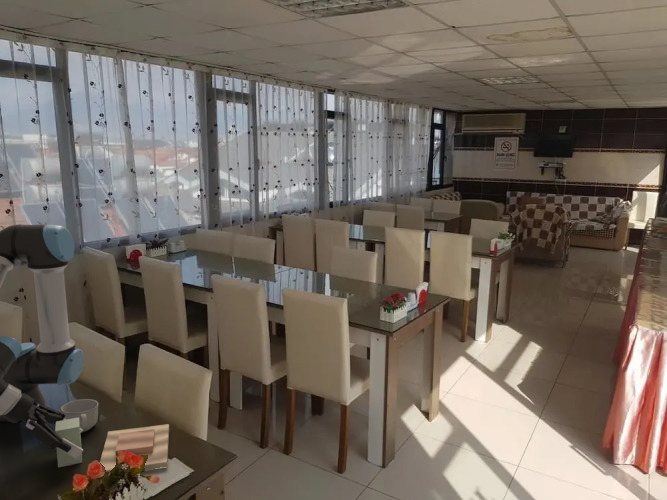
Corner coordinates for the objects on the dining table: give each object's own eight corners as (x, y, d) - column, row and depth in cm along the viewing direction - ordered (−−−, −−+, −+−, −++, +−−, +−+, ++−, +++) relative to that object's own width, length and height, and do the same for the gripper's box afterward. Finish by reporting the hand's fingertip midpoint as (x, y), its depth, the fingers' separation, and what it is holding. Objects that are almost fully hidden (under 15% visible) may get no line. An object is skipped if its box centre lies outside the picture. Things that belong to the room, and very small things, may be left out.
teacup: (64, 423, 169) (62, 400, 167) (100, 417, 173) (98, 395, 172) (60, 444, 156) (58, 420, 155) (99, 437, 160) (97, 413, 159)
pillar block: (58, 456, 150) (55, 421, 148) (81, 451, 152) (79, 417, 151) (58, 467, 144) (55, 431, 143) (81, 462, 147) (79, 426, 145)
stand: (108, 437, 160) (107, 425, 160) (169, 429, 165) (168, 418, 165) (97, 478, 140) (96, 465, 139) (167, 468, 144) (166, 455, 144)
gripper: (7, 397, 149) (70, 434, 159) (-5, 435, 128) (69, 476, 138) (26, 376, 151) (88, 415, 160) (18, 411, 130) (89, 453, 139)
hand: (79, 443), depth 149 cm, fingers open, 11 cm apart
